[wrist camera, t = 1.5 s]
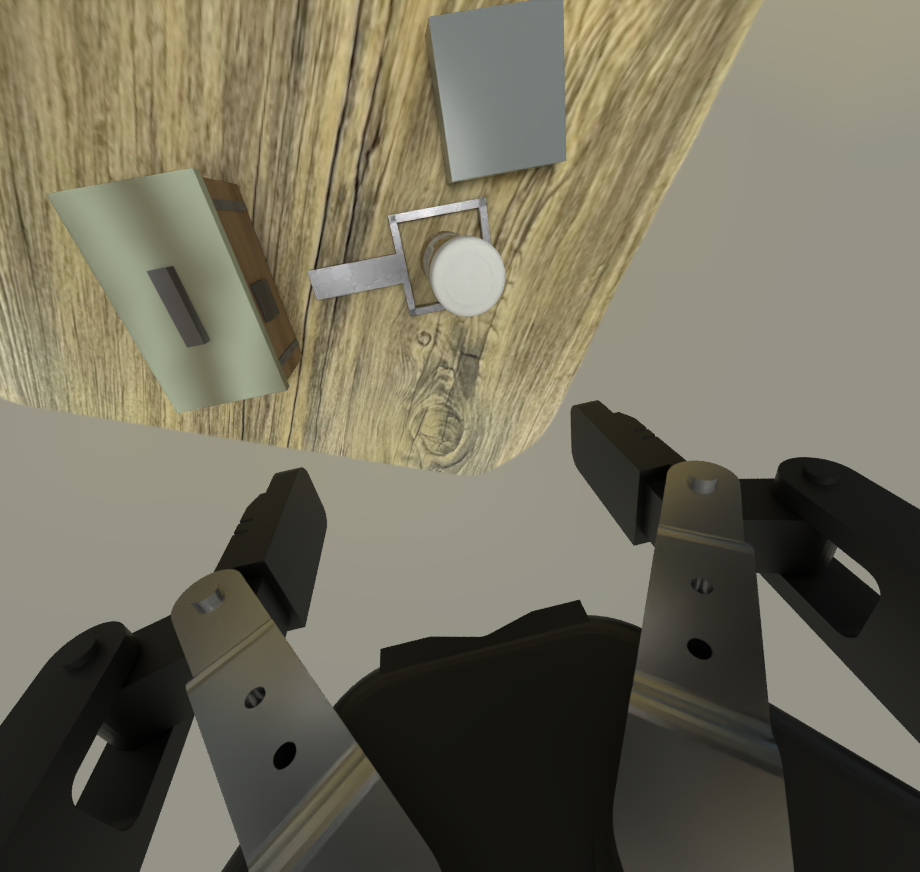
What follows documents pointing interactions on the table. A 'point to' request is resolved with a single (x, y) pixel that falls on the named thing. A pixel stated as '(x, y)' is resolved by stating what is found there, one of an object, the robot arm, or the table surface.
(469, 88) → the gray rectangular block
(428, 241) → the sprinkles bottle
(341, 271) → the square frame with handle
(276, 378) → the toolbox
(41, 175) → the table surface
